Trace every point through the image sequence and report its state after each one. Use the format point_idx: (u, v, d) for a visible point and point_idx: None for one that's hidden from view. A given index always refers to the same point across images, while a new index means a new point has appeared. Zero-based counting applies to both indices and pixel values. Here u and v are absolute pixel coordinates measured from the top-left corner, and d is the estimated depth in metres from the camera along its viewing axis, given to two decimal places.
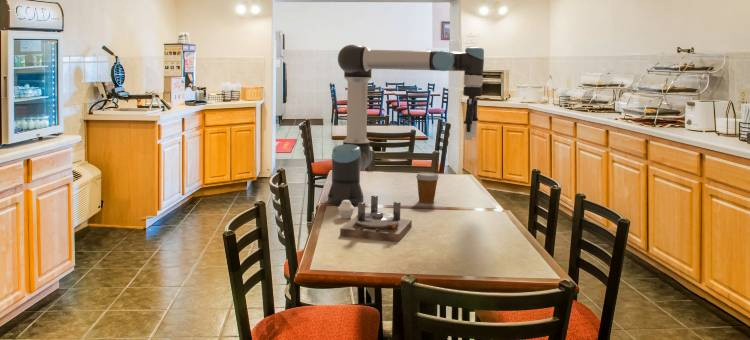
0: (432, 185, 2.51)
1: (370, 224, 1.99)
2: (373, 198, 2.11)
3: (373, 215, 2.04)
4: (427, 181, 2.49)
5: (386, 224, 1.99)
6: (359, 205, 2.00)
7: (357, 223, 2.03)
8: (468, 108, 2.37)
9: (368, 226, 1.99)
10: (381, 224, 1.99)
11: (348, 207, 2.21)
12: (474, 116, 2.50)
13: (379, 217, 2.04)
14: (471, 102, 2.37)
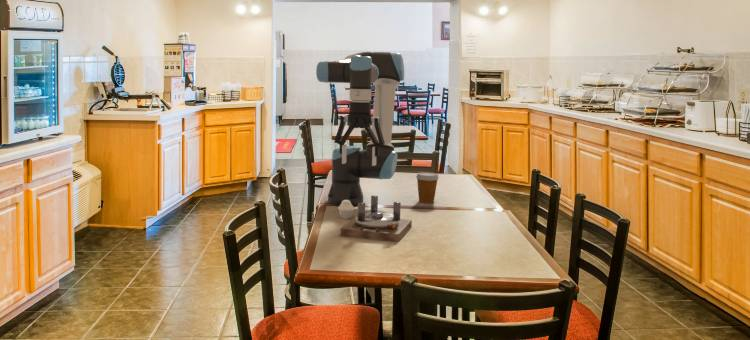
0: (432, 185, 2.50)
1: (370, 224, 1.99)
2: (373, 198, 2.11)
3: (373, 215, 2.04)
4: (427, 181, 2.49)
5: (386, 224, 1.99)
6: (359, 205, 2.00)
7: (357, 223, 2.03)
8: None
9: (368, 226, 1.99)
10: (381, 224, 1.99)
11: (348, 207, 2.21)
12: None
13: (379, 217, 2.04)
14: None
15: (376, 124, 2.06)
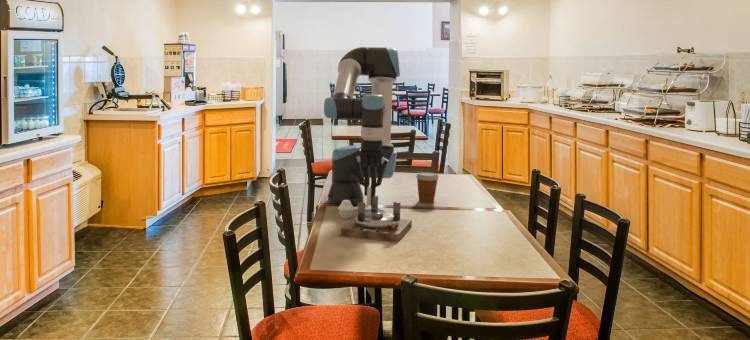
0: (432, 185, 2.50)
1: (370, 224, 1.99)
2: (373, 198, 2.11)
3: (373, 215, 2.04)
4: (427, 181, 2.49)
5: (386, 224, 1.99)
6: (359, 205, 2.00)
7: (357, 223, 2.03)
8: None
9: (368, 226, 1.99)
10: (381, 224, 1.99)
11: (348, 207, 2.21)
12: None
13: (379, 217, 2.04)
14: None
15: (383, 166, 2.08)
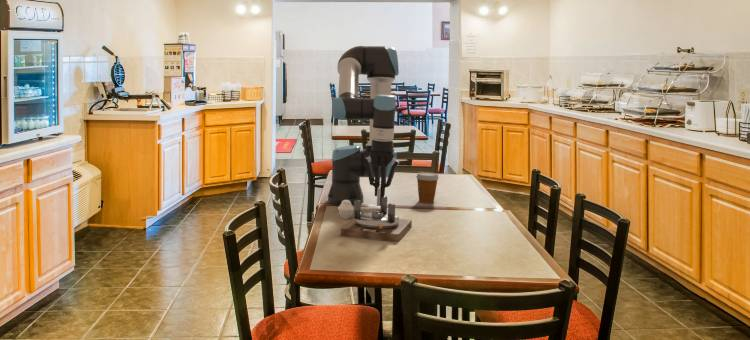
0: (432, 185, 2.50)
1: (361, 222, 2.01)
2: (381, 198, 2.11)
3: (372, 214, 2.05)
4: (427, 181, 2.49)
5: (375, 224, 1.99)
6: (354, 203, 2.03)
7: (355, 220, 2.06)
8: None
9: (360, 224, 2.01)
10: (370, 224, 1.99)
11: (348, 207, 2.21)
12: None
13: (376, 217, 2.04)
14: None
15: (393, 167, 2.07)
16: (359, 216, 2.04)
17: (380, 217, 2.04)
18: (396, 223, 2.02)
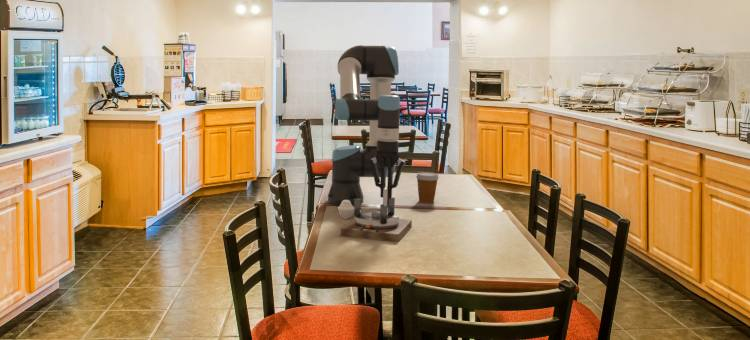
0: (432, 185, 2.50)
1: (356, 220, 2.04)
2: (388, 199, 2.10)
3: (371, 214, 2.06)
4: (427, 181, 2.49)
5: (366, 223, 2.00)
6: None
7: None
8: None
9: (356, 222, 2.04)
10: (362, 222, 2.00)
11: (348, 207, 2.21)
12: None
13: (374, 217, 2.04)
14: None
15: (400, 167, 2.06)
16: (358, 214, 2.06)
17: (378, 217, 2.04)
18: (390, 225, 2.00)
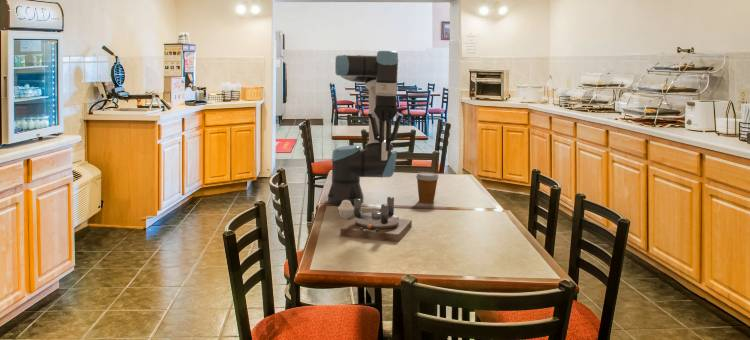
0: (432, 185, 2.50)
1: (356, 220, 2.03)
2: (387, 199, 2.10)
3: (371, 214, 2.06)
4: (427, 181, 2.49)
5: (367, 223, 1.99)
6: (354, 201, 2.06)
7: None
8: None
9: (356, 222, 2.04)
10: (363, 222, 2.00)
11: (348, 207, 2.21)
12: None
13: (374, 217, 2.04)
14: None
15: (397, 121, 2.13)
16: (358, 214, 2.06)
17: (378, 217, 2.04)
18: (391, 225, 2.00)
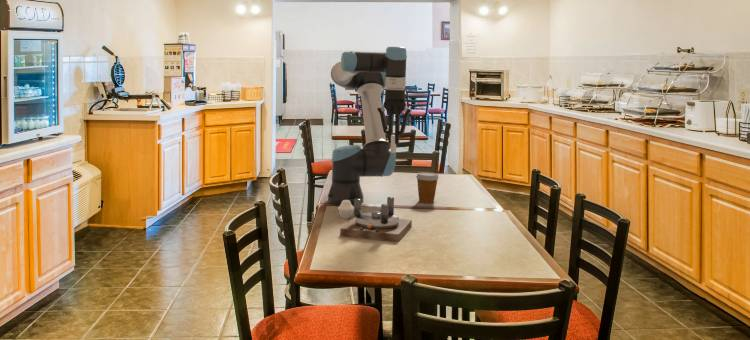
0: (432, 185, 2.51)
1: (356, 220, 2.03)
2: (387, 199, 2.10)
3: (371, 214, 2.06)
4: (427, 181, 2.49)
5: (367, 223, 1.99)
6: (354, 201, 2.06)
7: None
8: None
9: (356, 222, 2.04)
10: (363, 222, 2.00)
11: (348, 207, 2.21)
12: None
13: (374, 217, 2.04)
14: None
15: (406, 114, 2.21)
16: (358, 214, 2.06)
17: (378, 217, 2.04)
18: (391, 225, 2.00)
